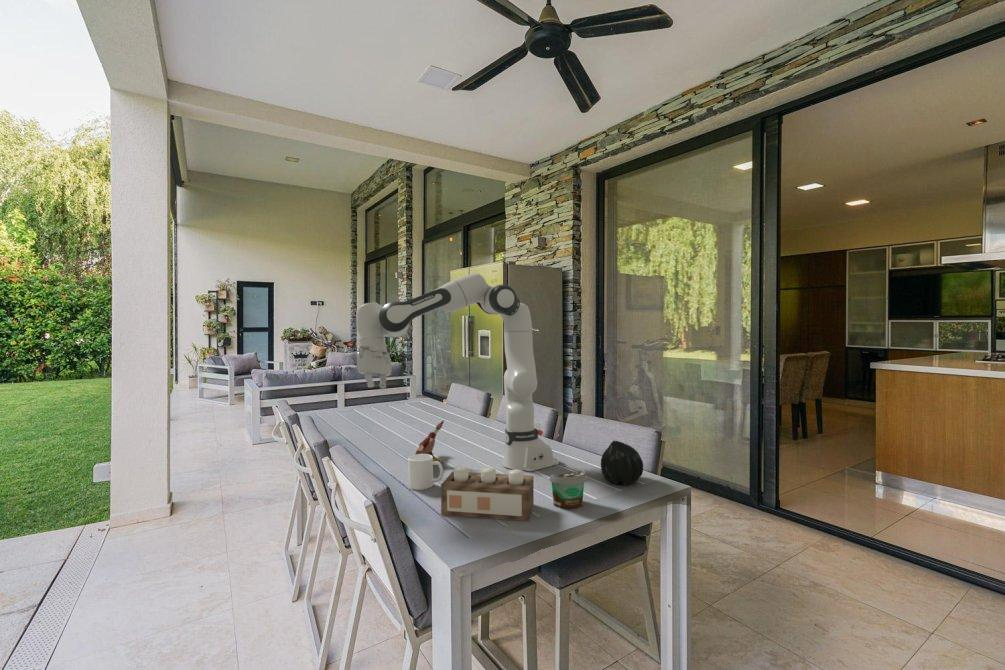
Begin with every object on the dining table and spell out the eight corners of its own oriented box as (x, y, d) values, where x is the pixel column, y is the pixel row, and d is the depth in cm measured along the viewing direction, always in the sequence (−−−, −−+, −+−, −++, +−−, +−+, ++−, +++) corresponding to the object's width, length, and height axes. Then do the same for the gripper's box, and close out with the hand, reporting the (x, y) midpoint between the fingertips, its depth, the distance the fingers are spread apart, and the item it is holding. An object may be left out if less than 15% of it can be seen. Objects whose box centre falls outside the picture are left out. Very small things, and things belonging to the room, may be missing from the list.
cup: (413, 481, 164) (412, 453, 163) (446, 482, 162) (445, 454, 162) (405, 490, 156) (405, 460, 155) (440, 491, 154) (439, 461, 154)
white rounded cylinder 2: (507, 490, 136) (507, 473, 136) (510, 485, 140) (510, 469, 140) (522, 491, 135) (522, 474, 135) (524, 486, 139) (524, 469, 139)
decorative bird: (453, 465, 170) (437, 428, 170) (408, 484, 171) (392, 447, 170) (462, 444, 198) (448, 412, 198) (423, 460, 199) (409, 429, 198)
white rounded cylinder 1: (479, 488, 137) (479, 472, 137) (482, 483, 142) (482, 467, 141) (494, 489, 137) (494, 473, 136) (496, 484, 141) (496, 468, 141)
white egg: (452, 487, 139) (452, 470, 139) (456, 482, 143) (456, 466, 143) (466, 488, 138) (466, 471, 138) (470, 482, 142) (469, 466, 142)
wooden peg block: (441, 514, 136) (440, 484, 135) (452, 498, 148) (452, 471, 147) (528, 521, 131) (528, 490, 131) (533, 504, 143) (533, 475, 143)
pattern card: (446, 511, 135) (446, 491, 134) (447, 510, 135) (447, 490, 135) (521, 516, 131) (521, 495, 130) (521, 515, 131) (521, 494, 131)
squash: (658, 468, 159) (634, 431, 166) (631, 479, 150) (606, 439, 157) (633, 486, 168) (611, 450, 175) (606, 497, 159) (584, 459, 166)
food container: (559, 513, 136) (559, 480, 135) (549, 506, 141) (549, 474, 141) (594, 506, 141) (594, 474, 140) (583, 499, 146) (583, 468, 146)
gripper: (367, 342, 150) (372, 384, 148) (392, 350, 170) (397, 387, 168) (349, 346, 151) (354, 388, 149) (376, 353, 171) (381, 390, 168)
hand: (377, 387), depth 158 cm, fingers open, 8 cm apart
